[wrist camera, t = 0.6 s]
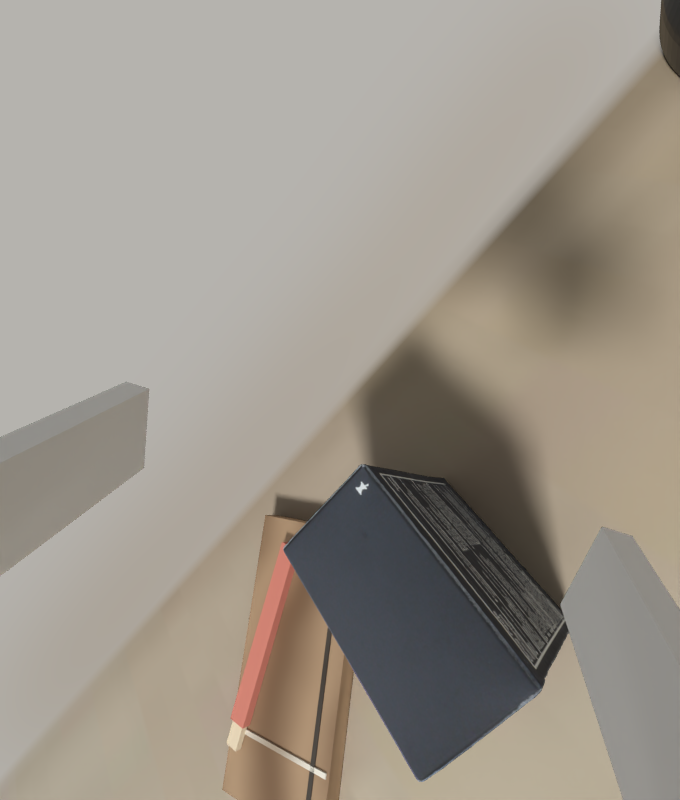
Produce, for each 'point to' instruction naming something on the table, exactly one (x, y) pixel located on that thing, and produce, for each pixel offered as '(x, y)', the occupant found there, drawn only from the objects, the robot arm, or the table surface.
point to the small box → (426, 611)
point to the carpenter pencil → (260, 649)
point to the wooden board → (292, 695)
